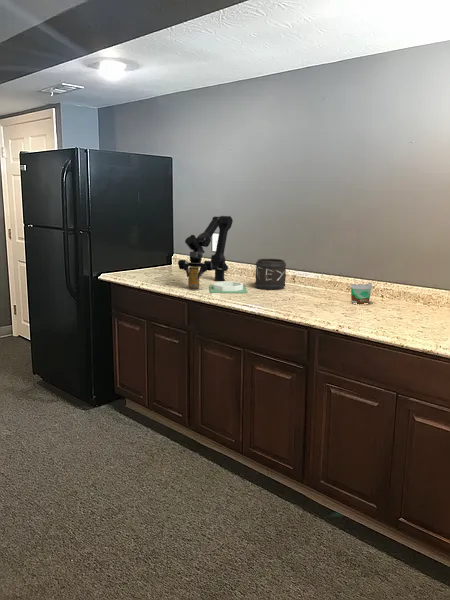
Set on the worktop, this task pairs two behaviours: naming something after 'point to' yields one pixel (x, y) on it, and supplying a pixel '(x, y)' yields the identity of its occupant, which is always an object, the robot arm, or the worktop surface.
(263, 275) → the lettered dark canister
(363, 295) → the food container
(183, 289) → the worktop surface
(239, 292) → the green mat
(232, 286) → the white octagonal fence
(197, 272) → the yellow bottle can
